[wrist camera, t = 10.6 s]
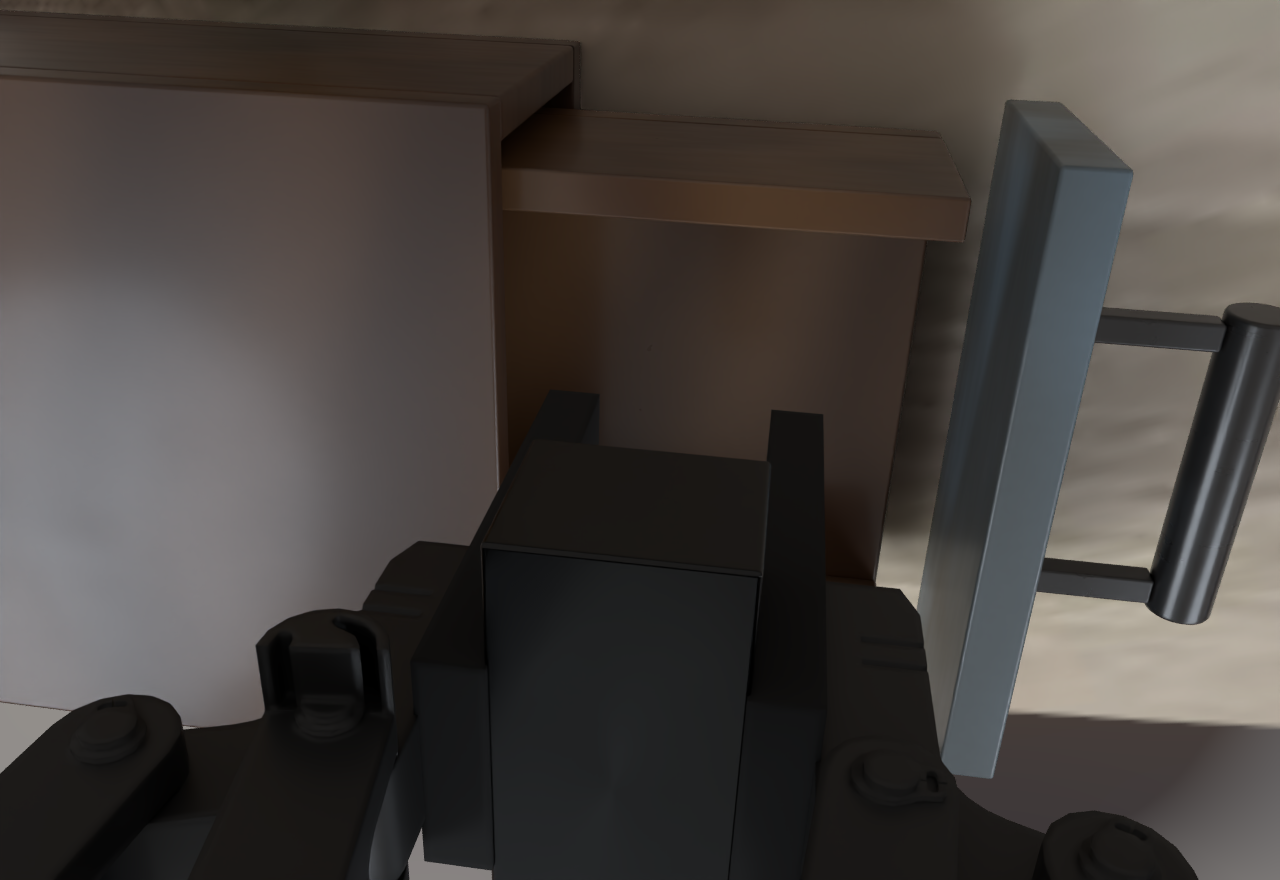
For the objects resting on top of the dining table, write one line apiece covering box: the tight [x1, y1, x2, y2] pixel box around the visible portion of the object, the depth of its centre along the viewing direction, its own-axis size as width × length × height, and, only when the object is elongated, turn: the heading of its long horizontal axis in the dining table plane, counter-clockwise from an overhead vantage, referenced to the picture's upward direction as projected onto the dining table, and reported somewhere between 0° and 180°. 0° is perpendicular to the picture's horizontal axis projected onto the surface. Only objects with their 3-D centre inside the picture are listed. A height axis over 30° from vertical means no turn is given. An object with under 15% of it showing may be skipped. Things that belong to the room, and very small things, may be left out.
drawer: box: [501, 100, 1280, 779], centre depth 25 cm, size 19×13×6 cm
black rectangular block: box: [480, 439, 772, 880], centre depth 13 cm, size 10×3×2 cm, turn 178°
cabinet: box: [0, 10, 580, 728], centre depth 26 cm, size 16×15×8 cm
